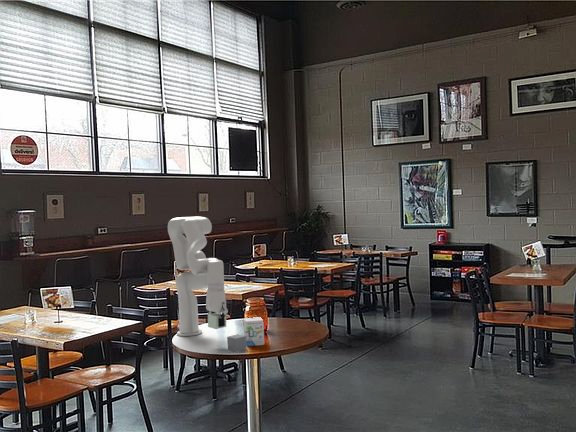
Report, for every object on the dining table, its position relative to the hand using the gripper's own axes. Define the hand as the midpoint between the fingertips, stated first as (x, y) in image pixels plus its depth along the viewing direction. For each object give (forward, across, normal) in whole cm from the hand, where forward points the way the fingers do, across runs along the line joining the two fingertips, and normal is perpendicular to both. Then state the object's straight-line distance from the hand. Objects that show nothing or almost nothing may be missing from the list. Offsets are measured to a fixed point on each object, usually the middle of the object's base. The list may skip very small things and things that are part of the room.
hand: (217, 324), depth 267 cm
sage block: (+1, 0, 0) cm, 1 cm away
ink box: (+10, +11, +13) cm, 20 cm away
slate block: (+9, +13, +1) cm, 16 cm away
